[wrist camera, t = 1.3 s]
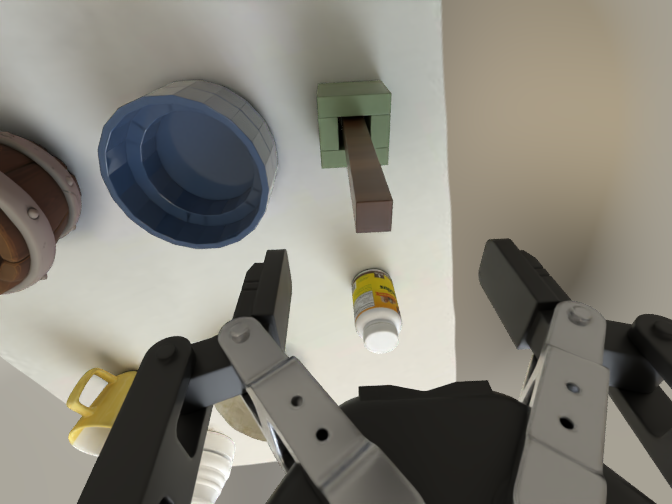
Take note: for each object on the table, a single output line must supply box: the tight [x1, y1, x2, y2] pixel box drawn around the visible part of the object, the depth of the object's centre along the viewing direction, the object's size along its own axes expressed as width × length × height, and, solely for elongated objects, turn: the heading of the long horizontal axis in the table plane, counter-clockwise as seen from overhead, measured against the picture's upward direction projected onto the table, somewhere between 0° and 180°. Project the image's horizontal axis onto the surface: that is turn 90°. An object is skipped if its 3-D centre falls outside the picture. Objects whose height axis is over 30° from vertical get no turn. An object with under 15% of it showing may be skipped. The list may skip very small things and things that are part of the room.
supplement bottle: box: [352, 269, 402, 353], centre depth 41 cm, size 6×6×10 cm
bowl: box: [214, 395, 267, 441], centre depth 52 cm, size 15×14×10 cm
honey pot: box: [191, 431, 236, 504], centre depth 64 cm, size 13×13×18 cm
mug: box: [66, 368, 137, 457], centre depth 52 cm, size 14×10×10 cm
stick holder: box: [317, 80, 391, 168], centre depth 30 cm, size 6×6×6 cm
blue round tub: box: [98, 80, 278, 249], centre depth 32 cm, size 14×14×8 cm
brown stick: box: [341, 116, 393, 233], centre depth 25 cm, size 2×2×20 cm
